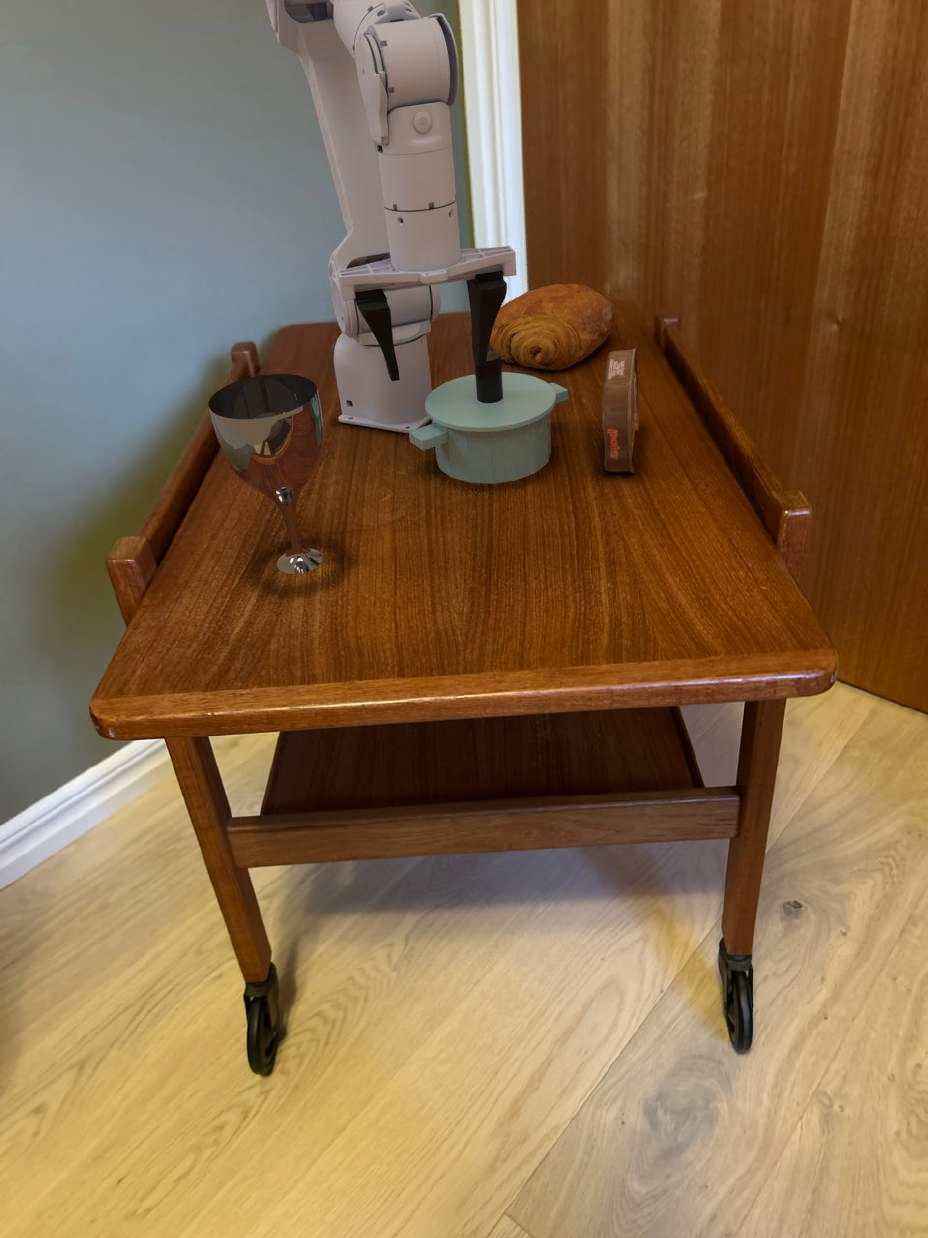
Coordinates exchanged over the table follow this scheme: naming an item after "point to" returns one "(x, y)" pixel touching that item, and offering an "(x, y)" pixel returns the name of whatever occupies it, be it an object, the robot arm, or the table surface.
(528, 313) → the croissant
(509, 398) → the lid
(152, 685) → the table surface
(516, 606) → the table surface
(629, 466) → the tin
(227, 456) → the wine glass
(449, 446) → the pot
